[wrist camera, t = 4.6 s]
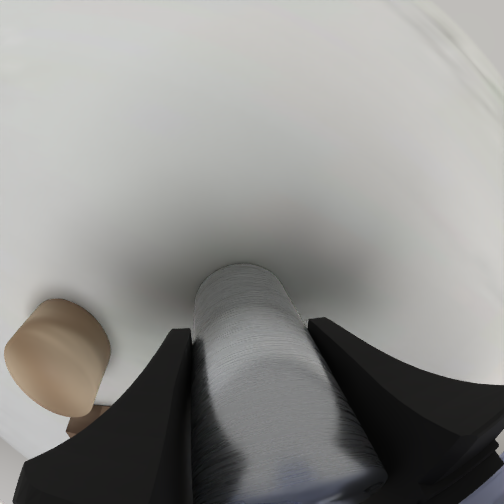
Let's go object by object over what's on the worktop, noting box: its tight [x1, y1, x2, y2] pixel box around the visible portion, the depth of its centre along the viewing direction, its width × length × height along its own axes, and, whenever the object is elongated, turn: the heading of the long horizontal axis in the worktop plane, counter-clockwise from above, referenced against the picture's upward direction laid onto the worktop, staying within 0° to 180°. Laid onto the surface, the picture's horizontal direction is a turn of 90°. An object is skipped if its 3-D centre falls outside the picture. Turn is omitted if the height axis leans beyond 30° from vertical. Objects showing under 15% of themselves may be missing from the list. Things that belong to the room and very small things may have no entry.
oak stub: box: [4, 299, 111, 417], centre depth 10 cm, size 5×5×4 cm
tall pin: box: [191, 264, 388, 504], centre depth 8 cm, size 4×4×9 cm
